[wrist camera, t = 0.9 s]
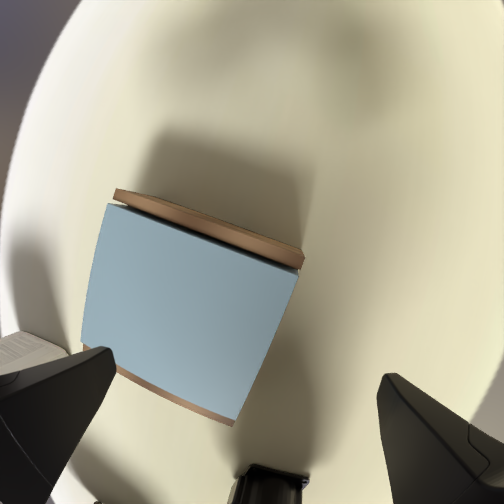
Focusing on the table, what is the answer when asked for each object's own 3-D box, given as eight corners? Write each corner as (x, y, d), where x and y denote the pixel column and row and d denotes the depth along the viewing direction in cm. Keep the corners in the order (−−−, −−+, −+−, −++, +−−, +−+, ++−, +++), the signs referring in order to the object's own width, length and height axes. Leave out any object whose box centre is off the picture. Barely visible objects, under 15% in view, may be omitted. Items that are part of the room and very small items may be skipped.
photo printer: (25, 356, 26) (-42, 388, 14) (19, 326, 25) (-53, 353, 13) (77, 381, 24) (3, 433, 12) (71, 347, 24) (-14, 392, 12)
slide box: (301, 250, 20) (305, 257, 15) (245, 387, 22) (232, 426, 16) (154, 196, 21) (116, 188, 16) (119, 329, 23) (82, 350, 17)
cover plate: (297, 269, 17) (298, 276, 14) (241, 401, 18) (235, 420, 16) (127, 205, 18) (107, 203, 16) (98, 331, 19) (80, 341, 17)
